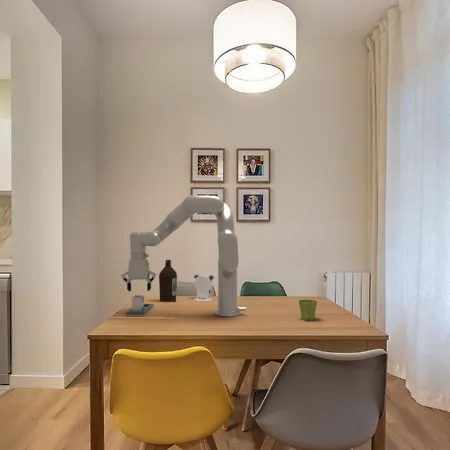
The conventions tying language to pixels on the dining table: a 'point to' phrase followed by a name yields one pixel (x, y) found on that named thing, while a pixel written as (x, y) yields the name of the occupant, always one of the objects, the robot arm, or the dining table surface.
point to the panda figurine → (203, 287)
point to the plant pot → (307, 309)
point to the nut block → (138, 303)
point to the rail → (146, 309)
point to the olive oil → (168, 283)
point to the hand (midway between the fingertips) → (139, 290)
